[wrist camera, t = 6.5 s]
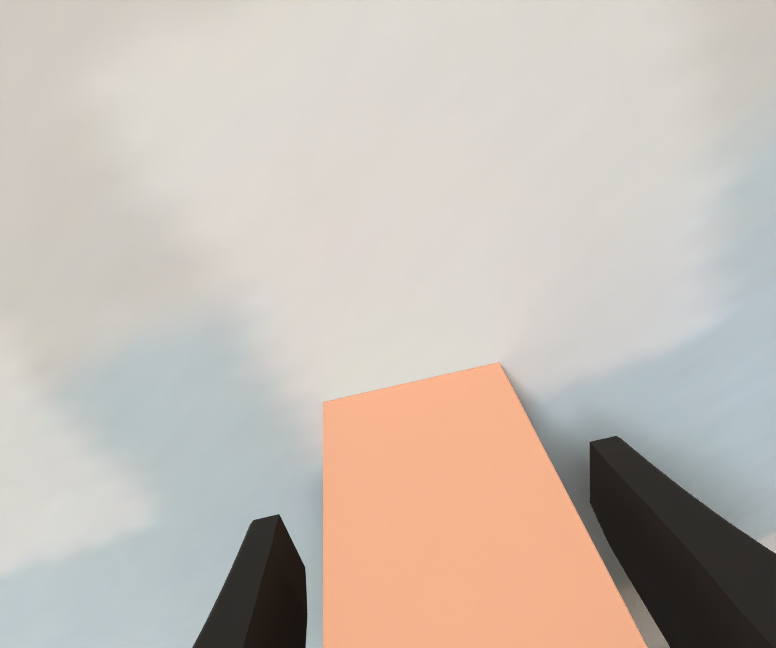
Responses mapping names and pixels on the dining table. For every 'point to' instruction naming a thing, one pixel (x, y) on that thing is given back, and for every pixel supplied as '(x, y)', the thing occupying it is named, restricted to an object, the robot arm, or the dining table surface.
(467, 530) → the terracotta domino
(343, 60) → the dining table surface
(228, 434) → the dining table surface
